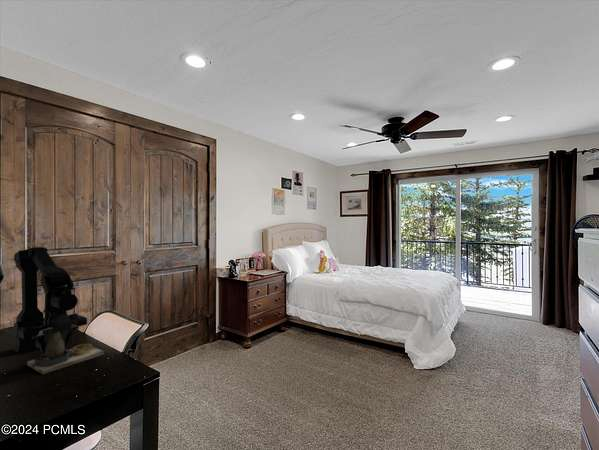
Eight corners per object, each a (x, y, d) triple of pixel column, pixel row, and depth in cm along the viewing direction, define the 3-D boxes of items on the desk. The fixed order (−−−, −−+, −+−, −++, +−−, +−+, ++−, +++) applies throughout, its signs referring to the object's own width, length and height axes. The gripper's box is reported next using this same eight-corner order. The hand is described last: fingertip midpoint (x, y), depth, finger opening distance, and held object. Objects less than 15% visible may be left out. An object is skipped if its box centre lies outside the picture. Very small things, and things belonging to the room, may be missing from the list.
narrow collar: (69, 354, 115) (69, 347, 115) (87, 348, 120) (87, 342, 120) (77, 357, 112) (77, 350, 112) (94, 352, 117) (95, 345, 117)
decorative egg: (42, 363, 104) (42, 334, 104) (44, 357, 109) (44, 330, 109) (64, 359, 107) (64, 331, 108) (64, 353, 112) (65, 327, 112)
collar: (31, 363, 106) (31, 356, 106) (63, 354, 115) (63, 347, 115) (42, 370, 101) (43, 363, 101) (75, 360, 110) (75, 353, 110)
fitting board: (27, 365, 107) (27, 361, 107) (87, 347, 123) (87, 344, 123) (42, 374, 100) (42, 370, 100) (103, 354, 116) (103, 351, 116)
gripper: (30, 316, 96) (29, 365, 96) (94, 304, 112) (94, 346, 112) (17, 311, 102) (16, 357, 102) (80, 300, 118) (79, 340, 118)
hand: (54, 350), depth 108 cm, fingers closed on decorative egg, 6 cm apart
